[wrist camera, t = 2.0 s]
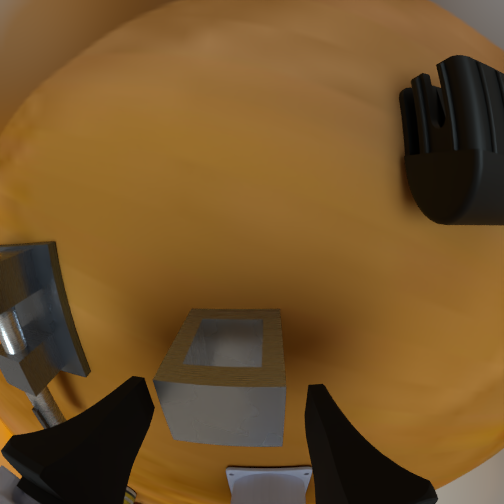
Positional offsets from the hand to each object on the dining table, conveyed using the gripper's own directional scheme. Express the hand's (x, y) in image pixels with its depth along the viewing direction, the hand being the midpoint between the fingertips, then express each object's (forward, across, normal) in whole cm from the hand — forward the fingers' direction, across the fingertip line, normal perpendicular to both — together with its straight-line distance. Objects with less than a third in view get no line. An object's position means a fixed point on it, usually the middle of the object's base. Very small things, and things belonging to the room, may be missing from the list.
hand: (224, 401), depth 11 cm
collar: (+5, 0, 0) cm, 5 cm away
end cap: (+6, -14, -11) cm, 19 cm away
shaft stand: (+5, +16, +2) cm, 17 cm away
